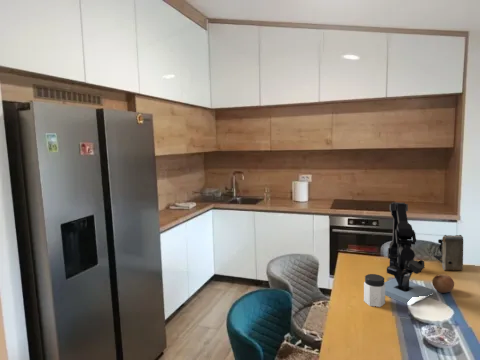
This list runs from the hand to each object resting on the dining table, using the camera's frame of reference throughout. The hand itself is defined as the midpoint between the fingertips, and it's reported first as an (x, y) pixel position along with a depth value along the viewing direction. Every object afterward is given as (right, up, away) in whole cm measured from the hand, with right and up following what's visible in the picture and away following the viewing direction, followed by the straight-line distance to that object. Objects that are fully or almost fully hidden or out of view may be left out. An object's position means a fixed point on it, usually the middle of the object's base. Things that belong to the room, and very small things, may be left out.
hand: (403, 284), depth 161 cm
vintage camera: (+39, +1, +30) cm, 49 cm away
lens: (0, -3, 0) cm, 3 cm away
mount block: (0, -4, 0) cm, 4 cm away
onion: (+19, -4, 0) cm, 19 cm away
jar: (-17, -6, -8) cm, 20 cm away
